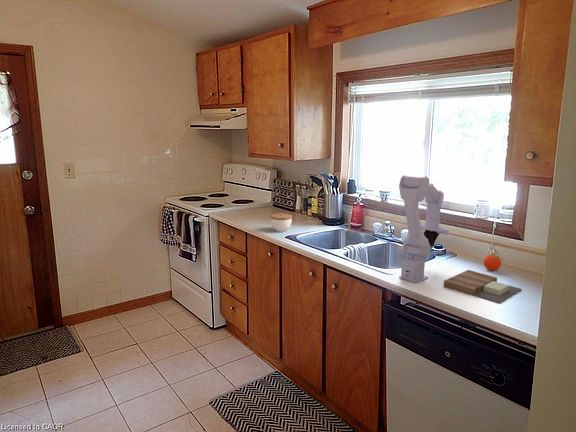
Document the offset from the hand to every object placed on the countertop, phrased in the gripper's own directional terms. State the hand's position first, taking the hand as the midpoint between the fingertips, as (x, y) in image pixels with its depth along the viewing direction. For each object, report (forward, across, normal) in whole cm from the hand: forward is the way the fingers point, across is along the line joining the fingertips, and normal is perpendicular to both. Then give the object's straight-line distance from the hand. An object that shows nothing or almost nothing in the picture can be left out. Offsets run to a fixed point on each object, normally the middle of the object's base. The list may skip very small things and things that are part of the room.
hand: (430, 247), depth 188 cm
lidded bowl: (+10, +94, +6) cm, 95 cm away
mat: (+9, -32, +6) cm, 34 cm away
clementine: (+10, -20, -19) cm, 29 cm away
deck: (+9, -22, +6) cm, 25 cm away
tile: (+9, -32, +6) cm, 33 cm away
